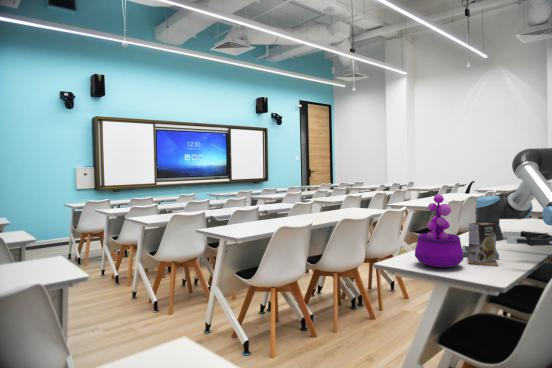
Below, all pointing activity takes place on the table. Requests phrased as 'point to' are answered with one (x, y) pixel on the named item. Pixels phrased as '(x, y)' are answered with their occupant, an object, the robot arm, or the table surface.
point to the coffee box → (482, 242)
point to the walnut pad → (493, 263)
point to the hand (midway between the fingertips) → (504, 237)
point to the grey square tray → (466, 252)
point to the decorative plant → (439, 240)
